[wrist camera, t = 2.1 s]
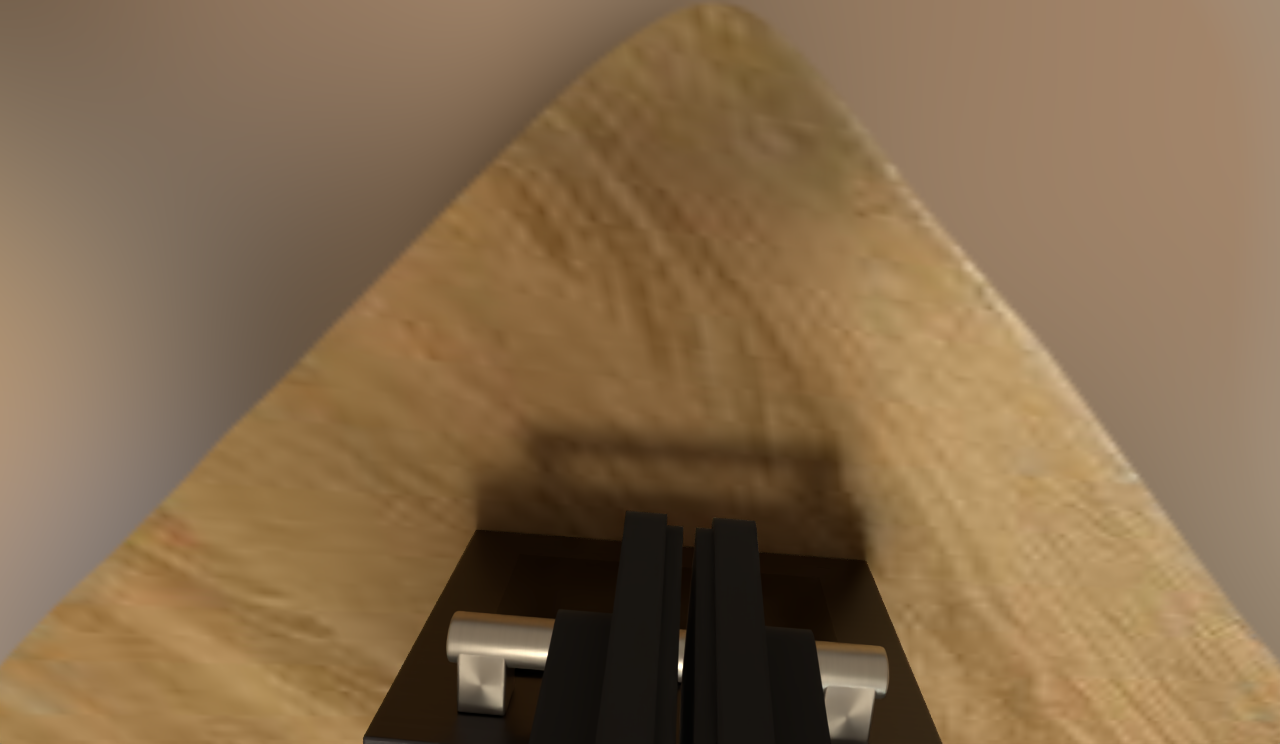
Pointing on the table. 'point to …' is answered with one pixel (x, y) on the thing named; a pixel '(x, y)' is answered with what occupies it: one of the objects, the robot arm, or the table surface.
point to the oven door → (586, 581)
